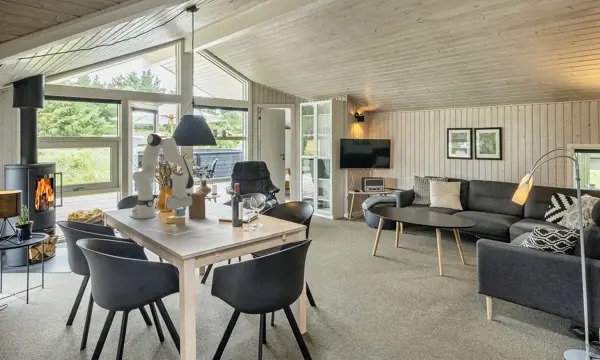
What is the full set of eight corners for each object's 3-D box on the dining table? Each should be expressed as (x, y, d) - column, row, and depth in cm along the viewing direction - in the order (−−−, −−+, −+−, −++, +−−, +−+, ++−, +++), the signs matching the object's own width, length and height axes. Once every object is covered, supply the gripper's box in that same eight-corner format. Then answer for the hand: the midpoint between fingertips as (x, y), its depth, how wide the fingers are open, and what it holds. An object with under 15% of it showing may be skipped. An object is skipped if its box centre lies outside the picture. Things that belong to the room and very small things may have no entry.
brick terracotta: (175, 224, 271) (175, 217, 271) (180, 223, 275) (180, 216, 275) (179, 225, 269) (179, 218, 268) (185, 224, 273) (185, 217, 272)
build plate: (168, 226, 270) (168, 224, 270) (181, 222, 280) (181, 221, 280) (179, 228, 264) (179, 227, 264) (192, 224, 274) (192, 223, 274)
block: (200, 219, 291) (199, 194, 289) (188, 219, 293) (187, 194, 291) (206, 217, 301) (205, 192, 299) (194, 216, 303) (193, 192, 301)
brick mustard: (166, 223, 278) (166, 217, 278) (172, 222, 282) (172, 216, 282) (171, 224, 275) (170, 217, 275) (176, 223, 280) (176, 216, 279)
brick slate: (179, 216, 268) (179, 209, 267) (175, 216, 271) (174, 209, 270) (185, 215, 272) (185, 208, 272) (180, 214, 275) (180, 208, 274)
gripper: (170, 197, 259) (171, 216, 261) (193, 193, 276) (193, 211, 278) (164, 196, 263) (165, 215, 264) (187, 192, 280) (188, 210, 281)
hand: (180, 213), depth 271 cm, fingers closed on brick slate, 5 cm apart
